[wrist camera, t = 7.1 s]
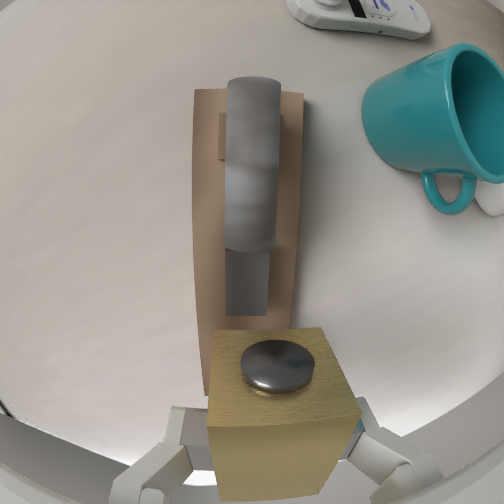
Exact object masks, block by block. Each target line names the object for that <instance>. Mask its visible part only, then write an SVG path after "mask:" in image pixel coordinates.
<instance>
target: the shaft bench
mask: <svg viewBox="0 0 504 504" xmlns="http://www.w3.org/2000/svg"><path fill="white" fill-rule="evenodd" d="M302 148H303V93H294V92H283V91H281V84H280V83H279V82H278V81H276V80H273V79H270V78H265V77H240V78H235V79H233V80H230V81H229V82H228V89H195V94H194V114H193V144H192V226H193V257H194V278H195V295H196V310H197V324H198V336H199V347H200V357H201V367H202V376H203V385H204V393H205V396H209V386H210V375H211V364H212V353H213V343H214V332H215V330H277V329H290V321H291V312H292V302H293V291H294V280H295V269H296V257H297V243H298V229H299V214H300V196H301V175H302Z"/></svg>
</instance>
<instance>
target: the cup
mask: <svg viewBox="0 0 504 504" xmlns="http://www.w3.org/2000/svg"><path fill="white" fill-rule="evenodd" d="M362 122H363V127H364V130H365V133H366V136H367V138H368V140H369V142H370V144H371V146H372V147H373V149H374V150H375V151H376V153H377V154H378V155H379V156H380V157H381V158H382V159H383V160H384V161H385V162H387V163H388V164H390V165H391V166H393V167H395V168H397V169H400V170H405V171H412V172H418V173H420V175H421V180H422V185H423V188H424V191H425V194H426V196H427V198H428V200H429V202H430V203H431V205H432V206H433V207H434V208H435V209H436V210H437V211H439V212H441V213H443V214H445V215H457V214H460V213H462V212H463V211H465V210H466V209H467V208H468V207H469V205H470V204H471V202H472V200H473V198H474V196H475V192H476V187H477V183H478V181H481V182H487V183H492V184H501V183H504V73H503V72H502V70H501V69H500V67H499V66H498V65H497V63H496V62H495V61H494V60H493V59H492V58H491V57H490V56H489V55H488V54H487V53H485V52H484V51H483V50H481V49H480V48H478V47H476V46H474V45H472V44H468V43H459V44H456V45H453V46H450V47H448V48H445V49H443V50H440V51H438V52H435V53H433V54H430V55H428V56H426V57H423V58H421V59H419V60H416V61H414V62H412V63H410V64H407V65H405V66H403V67H401V68H399V69H397V70H395V71H393V72H390V73H388V74H386V75H384V76H382V77H380V78H379V79H377V80H375V81H374V82H373V83H372V84H371V85H370V86H369V88H368V89H367V91H366V93H365V95H364V98H363V102H362ZM435 174H437V175H445V176H451V177H457V178H460V179H461V180H462V185H461V190H460V193H459V195H458V197H457V199H456V200H455V201H454V202H452V203H449V202H447V201H446V200H445V199H444V198H443V197H442V196H441V194H440V193H439V191H438V188H437V185H436V182H435Z"/></svg>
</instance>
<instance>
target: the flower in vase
mask: <svg viewBox="0 0 504 504" xmlns="http://www.w3.org/2000/svg"><path fill="white" fill-rule="evenodd" d="M474 197H475V199H476V201H477V202H478V204H479V205H480V207H481V208H482V210H483V211H484V212H485V213H487V214H488V215H490V216H499V215H502V214H504V183H501V184H492V183H487V182H481V181H478V183H477V187H476V192H475V196H474Z"/></svg>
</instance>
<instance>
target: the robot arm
mask: <svg viewBox="0 0 504 504" xmlns="http://www.w3.org/2000/svg"><path fill="white" fill-rule="evenodd" d="M355 399H356V401H357V403H358V405H359V407H360V409H361V411H362V415H361V417H360V419H359V421H358V423H357V426H356V428H355V430H354V432H353V434H352V436H351V438H350V440H349V442H348V444H347V446H346V447H345V449H344V451H343V453H342V455H341V457H340V459H339V460H344V459H348V461H350V462H351V463H352V464H353V465H354V466H356V467H357V468H358V469H359V470H361V471H362V472H363V473H364V474H365V475H367V476H368V477H369V478H370V479H372V480H373V481H374V482H375V483H377V484H378V485H379V487H378V488H377V489H376V490H375V491H374V492H373V493H372V495H371V496H370V500H371V503H372V504H504V439H503V440H502V441H501V442H499V443H498V444H497V445H495V446H494V447H493V448H491V449H490V450H488V451H487V452H486V453H484V454H483V455H481V456H480V457H478V458H477V459H475V460H474V461H472V462H471V463H469V464H467V465H466V466H464V467H463V468H461V469H459V470H457V471H456V472H454V473H452V474H450V475H449V476H447V477H445V478H444V476H443V475H442V473H441V471H440V469H439V467H438V465H437V464H436V462H435V460H434V458H433V457H432V455H431V453H430V452H428V451H426V450H423V449H422V448H420V447H418V446H416V445H414V444H413V443H411V442H409V441H407V440H405V439H403V438H402V437H400V436H398V435H396V434H395V433H393V432H391V431H389V430H388V429H386V428H384V427H382V428H380V427H379V425H378V423H377V421H376V419H375V417H374V415H373V413H372V411H371V409H370V407H369V405H368V403H367V401H366V400H365V398H364V397H359V398H355ZM207 411H208V409H199V408H187V407H175V406H172V407H171V409H170V413H169V417H168V422H167V427H166V432H165V437H164V442H163V443H158V444H157V445H156V446H155V447H153V448H152V449H151V450H150V451H149V452H148V453H146V454H145V455H144V456H143V457H142V458H140V459H139V460H138V461H137V462H136V463H134V464H133V465H132V466H131V467H129V468H128V469H127V470H126V471H125V472H123V473H122V474H121V475H120V476H118V477H117V478H116V479H114V482H113V486H112V490H111V493H110V497H109V501H108V504H171V503H170V502H169V501H168V500H169V499H170V497H171V496H172V495H173V494H174V493H175V492H176V491H177V489H178V488H179V487H180V486H181V485H182V484H183V483H184V481H185V480H186V479H187V478H188V477H189V476H190V474H191V473H192V472H193V470H208V471H214V466H213V461H212V456H211V450H210V444H209V439H208V433H207V426H206V425H207ZM0 504H82V503H79V502H77V501H74V500H71V499H69V498H66V497H64V496H62V495H59V494H57V493H55V492H53V491H51V490H49V489H47V488H45V487H43V486H41V485H38V484H37V483H35V482H33V481H31V480H29V479H27V478H25V477H24V476H22V475H20V474H18V473H16V472H15V471H13V470H12V469H10V468H9V467H7V466H5V465H4V464H2V463H1V462H0Z"/></svg>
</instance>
